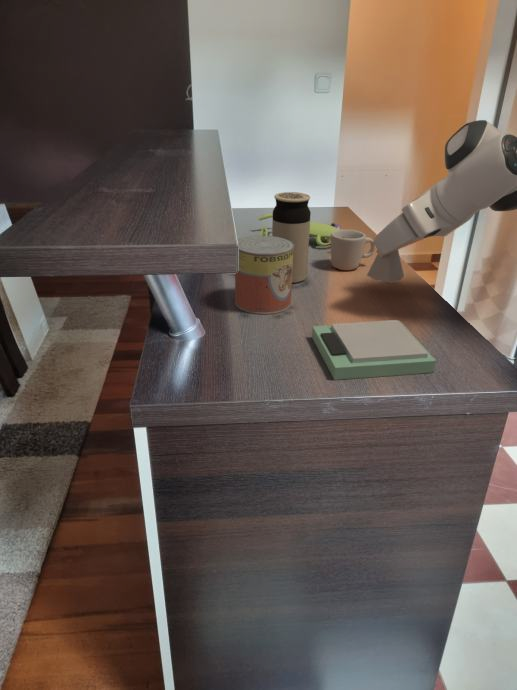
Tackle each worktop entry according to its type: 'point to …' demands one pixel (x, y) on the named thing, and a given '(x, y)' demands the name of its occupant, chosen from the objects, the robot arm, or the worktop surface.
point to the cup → (349, 248)
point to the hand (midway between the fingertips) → (386, 251)
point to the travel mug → (294, 228)
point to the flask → (387, 268)
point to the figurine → (311, 230)
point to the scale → (371, 350)
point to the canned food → (264, 274)
